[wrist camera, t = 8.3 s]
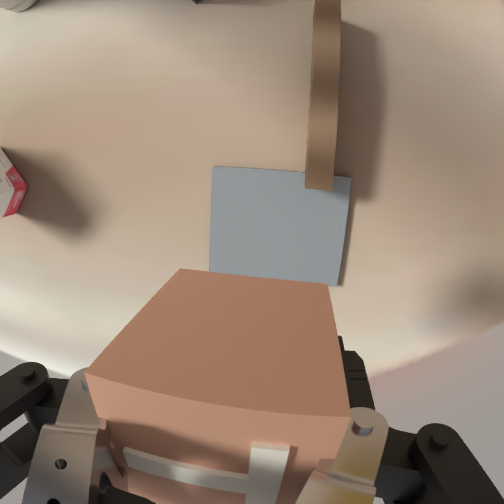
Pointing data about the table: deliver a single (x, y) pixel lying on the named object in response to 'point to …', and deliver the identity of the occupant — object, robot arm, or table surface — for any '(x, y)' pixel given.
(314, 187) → the walnut screen
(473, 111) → the table surface
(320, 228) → the slate mat
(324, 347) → the terracotta block
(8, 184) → the ink box
